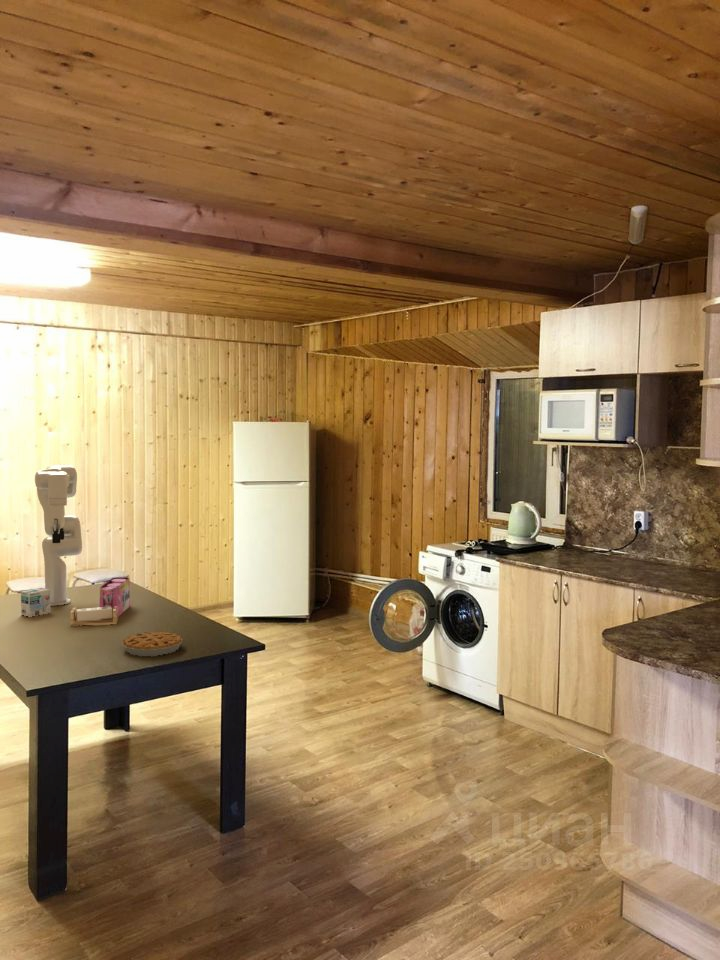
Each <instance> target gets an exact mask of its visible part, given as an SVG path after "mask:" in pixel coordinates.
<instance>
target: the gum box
mask: <svg viewBox="0 0 720 960" xmlns="http://www.w3.org/2000/svg"><path fill="white" fill-rule="evenodd" d="M130 578H131V577H127V576H126V577H117V576H116V577H112V578H111V579H109V580H108V581H107V582H106V583H103V584H102V585H101V586H100V587H99V607H110V606H111V608H112V615H113V609H114V607H115V606H118V617H120V616H121V615H122V614H123V613H124V612H126V610H128V609H129V608H130V606H131V593H130V592H131V586H130V585H131V583H130Z"/></svg>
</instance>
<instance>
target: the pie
mask: <svg viewBox="0 0 720 960" xmlns="http://www.w3.org/2000/svg"><path fill="white" fill-rule="evenodd" d="M182 643H183V638H182V636H181V635H178V634H177V632H174V633H170V632H168V631H164V632H161V631H154V632H146V631H145V632H143V633H135V634H134V635H129V636H127V638H123V640H122V644H121V645H122V646H123V647H124V650H125V651H126V652H127V653H128V652H129V653H130V654H129V653H128V654H129V655H132V654H134V655H133V656H135V655H138V656H137V657H142V656H151V657H159V656H158V655H160V656H164V655H163V654H166V655H169V654H171V653H175V652H176V650H177V651H178V650H179V648H180V646H181V644H182ZM168 653H169V654H168Z"/></svg>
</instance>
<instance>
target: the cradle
mask: <svg viewBox="0 0 720 960" xmlns="http://www.w3.org/2000/svg"><path fill="white" fill-rule="evenodd" d="M76 609H77V607H76V606H75V607H74V606H73V607H72V609H71V610H70V615H69V616H70V619H69V620H70V621H69V622H70V625H69V626H70V627H83V626H82V625H93V626H111V625H110V624H116V625H117V623H118V621H119V616H118V606H115V607H114V609H113V615H112V618H106V619H95V620H84V621H77V619H76ZM79 625H80V626H79Z"/></svg>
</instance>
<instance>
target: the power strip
mask: <svg viewBox="0 0 720 960" xmlns="http://www.w3.org/2000/svg"><path fill="white" fill-rule="evenodd" d="M106 618H112V608H111V606H110V607H100V606H98V607H87V608H78V609H77V608H76V619H77V621H84V620H95V619H106Z"/></svg>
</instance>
